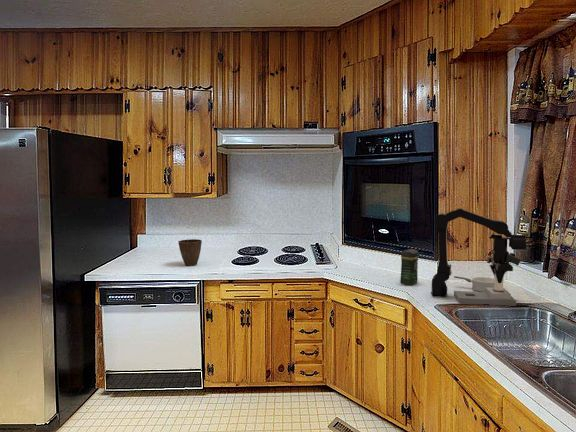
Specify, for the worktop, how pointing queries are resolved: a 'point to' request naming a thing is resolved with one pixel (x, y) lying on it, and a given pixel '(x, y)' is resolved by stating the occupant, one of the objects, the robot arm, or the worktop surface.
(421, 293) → the worktop surface
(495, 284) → the plug
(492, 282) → the saucepan
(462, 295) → the jack panel
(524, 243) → the robot arm
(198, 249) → the plant pot
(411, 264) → the coffee jar
